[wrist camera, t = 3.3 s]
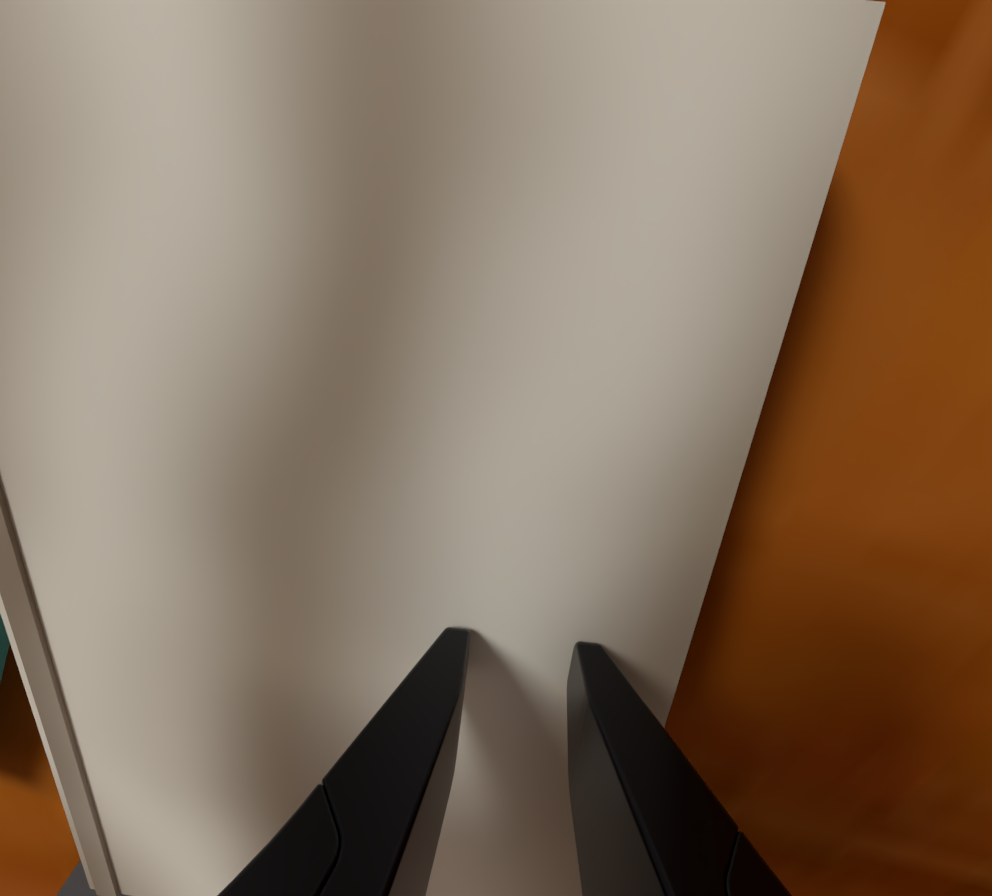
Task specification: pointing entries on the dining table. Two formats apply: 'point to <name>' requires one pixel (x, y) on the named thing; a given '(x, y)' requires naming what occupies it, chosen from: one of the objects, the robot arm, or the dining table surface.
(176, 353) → the white flat slab
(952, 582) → the dining table surface
